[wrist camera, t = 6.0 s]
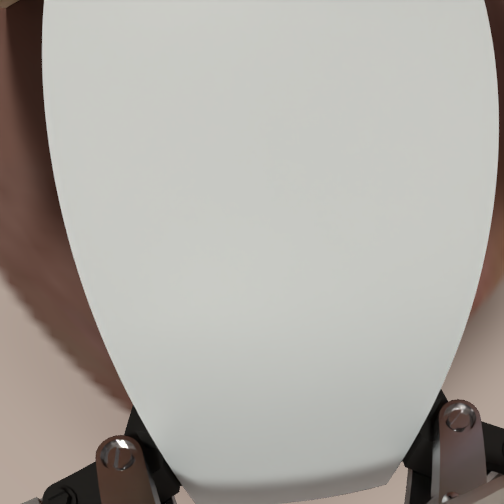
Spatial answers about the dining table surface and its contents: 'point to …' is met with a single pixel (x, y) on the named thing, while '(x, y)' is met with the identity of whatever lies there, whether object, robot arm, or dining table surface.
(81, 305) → the dining table surface
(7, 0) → the beige wooden bench
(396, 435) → the white rectangular block
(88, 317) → the dining table surface
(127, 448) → the robot arm
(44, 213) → the dining table surface
